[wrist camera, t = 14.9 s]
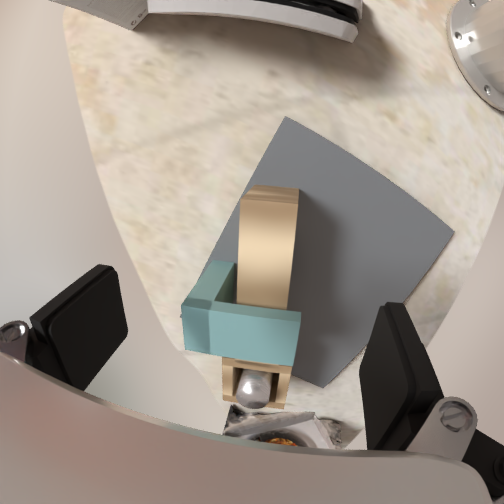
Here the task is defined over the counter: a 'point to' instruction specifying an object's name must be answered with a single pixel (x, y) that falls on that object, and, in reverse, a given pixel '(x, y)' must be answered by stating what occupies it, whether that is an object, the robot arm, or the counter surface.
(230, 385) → the wooden block with hole
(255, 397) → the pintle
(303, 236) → the plate
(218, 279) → the bracket
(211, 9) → the white slotted curved device
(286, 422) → the meal
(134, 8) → the skincare box
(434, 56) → the counter surface
